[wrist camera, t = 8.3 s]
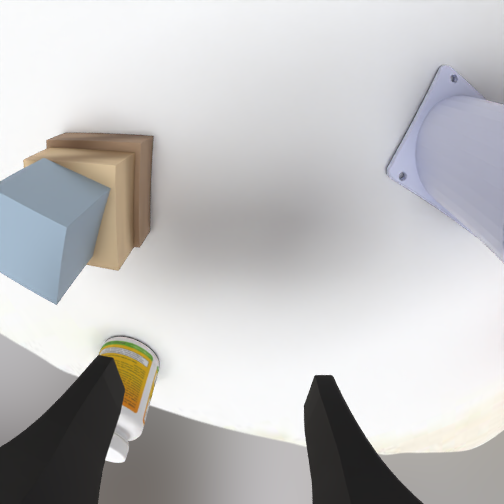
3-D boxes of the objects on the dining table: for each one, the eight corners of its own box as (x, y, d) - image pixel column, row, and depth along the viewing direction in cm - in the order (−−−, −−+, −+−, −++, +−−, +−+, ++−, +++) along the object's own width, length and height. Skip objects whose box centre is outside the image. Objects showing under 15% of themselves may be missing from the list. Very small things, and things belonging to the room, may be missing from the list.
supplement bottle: (93, 335, 24) (50, 427, 16) (146, 332, 24) (110, 438, 15) (119, 374, 27) (90, 461, 19) (169, 374, 26) (147, 470, 18)
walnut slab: (155, 134, 17) (140, 143, 14) (151, 228, 20) (139, 247, 17) (68, 131, 16) (46, 140, 14) (72, 217, 19) (54, 234, 17)
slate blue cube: (110, 188, 13) (66, 227, 10) (92, 256, 15) (56, 304, 11) (44, 157, 12) (-10, 187, 9) (33, 225, 14) (-10, 265, 10)
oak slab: (135, 152, 15) (115, 165, 12) (134, 246, 17) (118, 270, 15) (49, 147, 14) (23, 159, 12) (56, 233, 17) (35, 254, 15)
